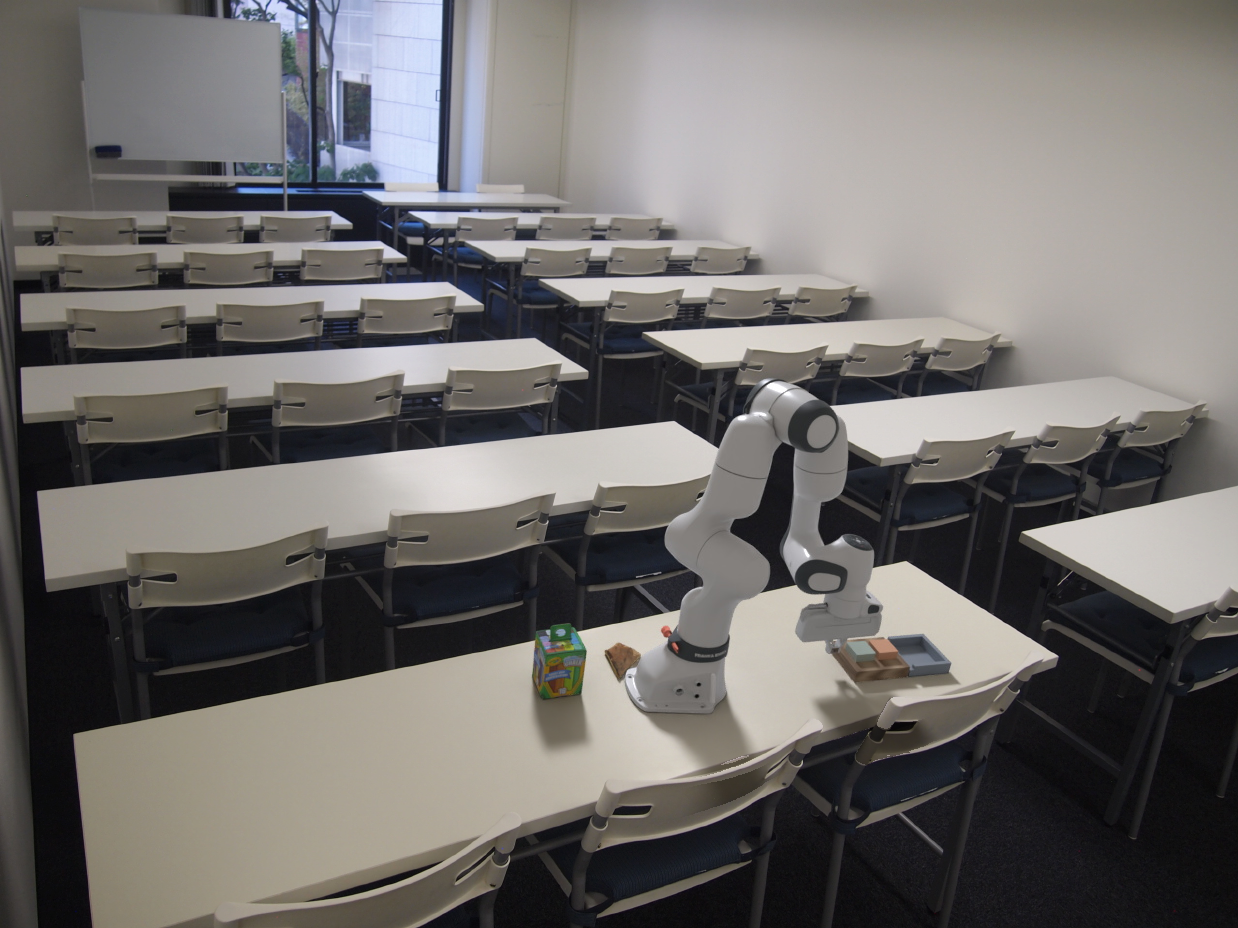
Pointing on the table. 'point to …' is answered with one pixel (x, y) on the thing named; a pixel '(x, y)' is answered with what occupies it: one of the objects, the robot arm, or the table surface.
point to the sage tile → (860, 651)
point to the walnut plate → (871, 666)
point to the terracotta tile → (883, 649)
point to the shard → (621, 658)
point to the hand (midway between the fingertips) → (832, 651)
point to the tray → (920, 655)
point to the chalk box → (559, 661)
